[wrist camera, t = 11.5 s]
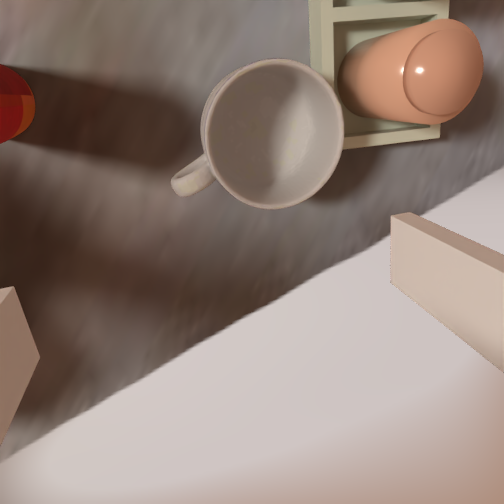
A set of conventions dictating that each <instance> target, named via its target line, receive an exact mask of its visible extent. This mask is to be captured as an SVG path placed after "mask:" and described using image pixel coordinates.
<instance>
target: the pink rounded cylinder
mask: <svg viewBox="0 0 504 504" xmlns="http://www.w3.org/2000/svg"><path fill="white" fill-rule="evenodd" d="M482 74H483V55H482V51H481V48H480V44H479V42H478V40H477V38H476V36H475V35H474V33H473V32H472V31H471V30H470V29H469V28H468V27H467V26H466V25H465V24H463V23H461V22H459V21H456V20H453V19H437V20H433V21H429V22H426V23H422V24H419V25H415V26H412V27H409V28H405V29H402V30H398V31H395V32H391V33H388V34H384V35H381V36H377V37H374V38H370V39H367V40H364V41H362V42H359V43H358V44H356V45H355V46H354V47H353V48H351V49H350V50H349V52H348V53H347V54H346V55H345V57H344V59H343V60H342V62H341V65H340V68H339V71H338V77H337V87H338V93H339V96H340V98H341V101H342V102H343V104H344V106H345V107H346V108H347V109H348V110H349V111H350V112H352V113H353V114H355V115H357V116H360V117H364V118H373V119H382V120H392V121H401V122H410V123H419V124H428V125H433V124H440V123H443V122H446V121H448V120H450V119H452V118H454V117H455V116H457V115H458V114H459V113H460V112H461V111H462V110H463V109H464V108H465V107H466V106H467V105H468V104H469V102H470V101H471V100H472V98H473V96H474V95H475V93H476V91H477V89H478V87H479V84H480V82H481V78H482Z"/></svg>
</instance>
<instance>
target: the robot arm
mask: <svg viewBox="0 0 504 504" xmlns="http://www.w3.org/2000/svg"><path fill="white" fill-rule="evenodd" d="M391 283H392V284H393V285H394V286H396V287H397V288H398V289H399V290H401V291H402V292H403V293H404V294H405V295H407V296H408V297H409V298H411V299H412V300H413V301H414V302H416V303H417V304H418V305H419V306H421V307H422V308H423V309H424V310H426V311H427V312H428V313H429V314H431V315H432V316H433V317H434V318H436V319H437V320H438V321H440V322H441V323H442V324H443V325H444V326H446V327H447V328H448V329H449V330H451V331H452V332H453V333H455V334H456V335H457V336H458V337H459V338H461V339H462V340H463V341H464V342H466V343H467V344H468V345H469V346H471V347H472V348H473V349H474V350H476V351H477V352H478V353H480V354H481V355H482V356H483V357H485V358H486V359H487V360H488V361H490V362H491V363H492V364H493V365H495V366H496V367H497V368H498V369H500V370H501V371H502V372H503V373H504V255H503V254H500V253H498V252H496V251H494V250H492V249H490V248H487V247H485V246H483V245H481V244H479V243H476V242H474V241H472V240H470V239H468V238H465V237H463V236H461V235H459V234H457V233H455V232H452V231H450V230H448V229H446V228H443V227H441V226H439V225H437V224H435V223H433V222H431V221H428V220H426V219H424V218H422V217H420V216H417V215H415V214H413V213H411V212H408V213H402V214H397V215H392V216H391ZM39 359H40V355H39V353H38V350H37V347H36V345H35V342H34V339H33V337H32V334H31V331H30V329H29V326H28V323H27V320H26V318H25V315H24V312H23V310H22V307H21V304H20V302H19V299H18V296H17V294H16V291H15V288H14V286H12V287H7V288H2V289H0V446H1V444H2V442H3V439H4V437H5V435H6V433H7V431H8V428H9V426H10V424H11V422H12V419H13V417H14V415H15V413H16V410H17V408H18V406H19V404H20V402H21V399H22V397H23V395H24V393H25V390H26V388H27V386H28V384H29V381H30V379H31V377H32V375H33V372H34V370H35V368H36V366H37V364H38V361H39Z"/></svg>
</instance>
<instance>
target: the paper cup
mask: <svg viewBox="0 0 504 504" xmlns="http://www.w3.org/2000/svg"><path fill="white" fill-rule="evenodd" d="M34 115H35V100H34V96H33V93H32V91H31V89H30V87H29V86H28V84H27V83H26V81H25V80H24V79H23V78H22V77H21V76H20V75H19V74H17V73H16V72H15V71H13V70H12V69H10V68H8V67H6V66H4V65H1V64H0V144H1V143H3V142H5V141H7V140H9V139H11V138H13V137H15V136H17V135H19V134H20V133H22V132H23V131H25V130H26V129H27V128H28V127H29V125H30V124H31V122H32V120H33V118H34Z"/></svg>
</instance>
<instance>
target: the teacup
mask: <svg viewBox="0 0 504 504" xmlns="http://www.w3.org/2000/svg"><path fill="white" fill-rule="evenodd" d="M200 132H201V141H202V146H203V150H204V154H202V155H201V156H200V157H199V158H198V159H196V160H195V161H193V162H192V163H190V164H189V165H187V166H186V167H185V168H183V169H182V170H180V171H179V172H178V173H176V174H175V175H174V176H173V178H172V180H171V186H172V188H173V190H174V191H175V192H176V194H177V195H179V196H181V197H188V196H191V195H193V194H196V193H198V192H199V191H201V190H203V189H204V188H206V187H207V186H209V185H210V184H211V183H213V182H214V181H215V180H216V179H217V180H218V181H219V183H220V184H221V185H222V186H223V187H224V188H225V189H226V190H227V191H228V192H229V193H230V194H231V195H232V196H233V197H235V198H236V199H238V200H239V201H241V202H243V203H245V204H247V205H250V206H253V207H256V208H261V209H280V208H286V207H291V206H294V205H296V204H299V203H301V202H303V201H305V200H307V199H308V198H310V197H311V196H313V195H314V194H315V193H316V192H317V191H319V190H320V189H321V188H322V187H323V186H324V185H325V183H326V182H327V181H328V179H329V178H330V177H331V175H332V173H333V172H334V170H335V168H336V166H337V164H338V162H339V159H340V156H341V153H342V149H343V142H344V119H343V112H342V108H341V104H340V102H339V100H338V98H337V95H336V94H335V92H334V90H333V88H332V87H331V85H330V84H329V83H328V82H327V80H326V79H325V78H324V77H323V76H322V75H320V74H319V73H318V72H317V71H315V70H314V69H312V68H311V67H309V66H307V65H305V64H302V63H299V62H297V61H294V60H289V59H283V58H271V59H264V60H259V61H257V62H254V63H251V64H249V65H247V66H244V67H241V68H239V69H237V70H235V71H233V72H232V73H230V74H229V75H227V76H226V77H225V78H223V79H222V80H221V81H220V82H219V83H218V84H217V86H216V87H215V88H214V89H213V91H212V92H211V94H210V96H209V97H208V99H207V102H206V104H205V107H204V110H203V113H202V118H201V128H200Z"/></svg>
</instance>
